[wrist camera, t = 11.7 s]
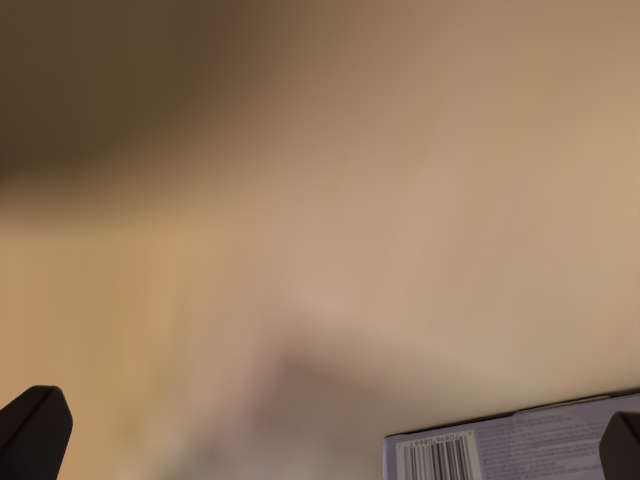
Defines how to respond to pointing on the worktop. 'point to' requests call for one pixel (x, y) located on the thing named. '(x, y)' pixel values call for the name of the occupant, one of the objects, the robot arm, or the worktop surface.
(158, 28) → the worktop surface
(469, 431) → the cake pan box
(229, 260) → the worktop surface
